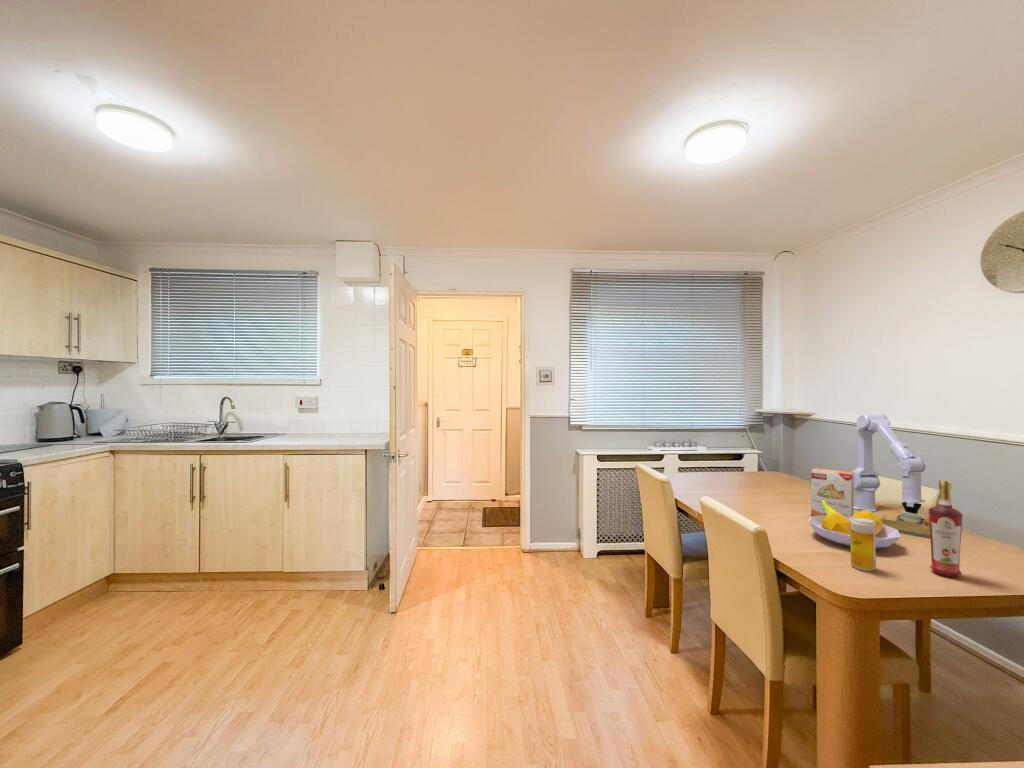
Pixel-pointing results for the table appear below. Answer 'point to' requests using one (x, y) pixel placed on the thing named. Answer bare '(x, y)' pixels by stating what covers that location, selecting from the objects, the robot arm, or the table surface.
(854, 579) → the table surface
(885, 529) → the fruit bowl
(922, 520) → the square caster platform
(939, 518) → the liquor
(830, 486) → the cracker box
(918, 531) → the plate
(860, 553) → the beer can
